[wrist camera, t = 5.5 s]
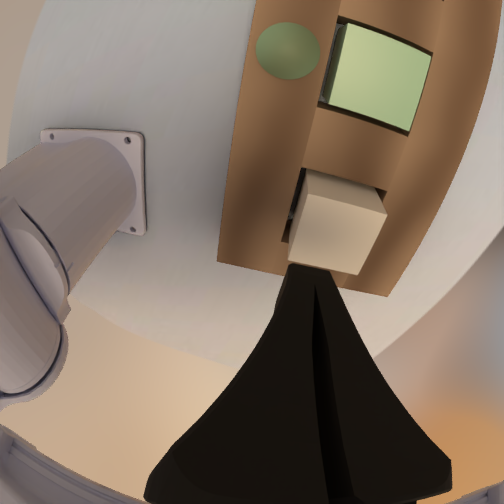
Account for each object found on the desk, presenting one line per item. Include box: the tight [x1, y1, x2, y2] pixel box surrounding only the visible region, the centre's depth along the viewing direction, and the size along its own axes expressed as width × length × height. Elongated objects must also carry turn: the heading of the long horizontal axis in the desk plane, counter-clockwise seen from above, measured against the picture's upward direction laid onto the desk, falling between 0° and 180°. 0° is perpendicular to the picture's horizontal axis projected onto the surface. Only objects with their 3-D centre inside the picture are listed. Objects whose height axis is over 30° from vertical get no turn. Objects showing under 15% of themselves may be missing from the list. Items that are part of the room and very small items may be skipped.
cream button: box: [288, 169, 387, 275], centre depth 15 cm, size 4×4×3 cm
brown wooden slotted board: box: [217, 0, 502, 297], centre depth 11 cm, size 12×26×3 cm, turn 171°
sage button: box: [323, 23, 431, 131], centre depth 11 cm, size 4×4×3 cm
